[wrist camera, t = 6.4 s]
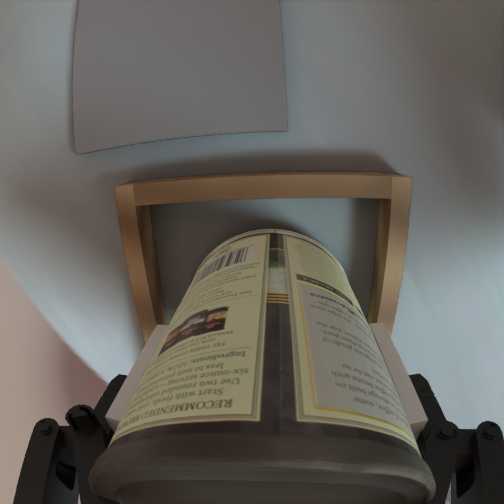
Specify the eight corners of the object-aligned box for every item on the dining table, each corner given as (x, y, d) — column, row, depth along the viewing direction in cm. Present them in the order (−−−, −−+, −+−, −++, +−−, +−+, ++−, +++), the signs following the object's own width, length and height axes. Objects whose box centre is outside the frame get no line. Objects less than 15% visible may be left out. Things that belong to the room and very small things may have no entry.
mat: (88, -11, 13) (81, -16, 12) (273, -49, 12) (273, -57, 11) (83, 153, 17) (75, 154, 16) (286, 131, 16) (287, 130, 15)
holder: (129, 181, 18) (114, 186, 16) (398, 173, 16) (411, 177, 15) (169, 384, 23) (163, 400, 21) (368, 382, 22) (373, 399, 20)
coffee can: (287, 387, 21) (286, 566, 8) (165, 319, 20) (70, 501, 7) (384, 287, 18) (489, 482, 5) (248, 191, 17) (154, 377, 3)
